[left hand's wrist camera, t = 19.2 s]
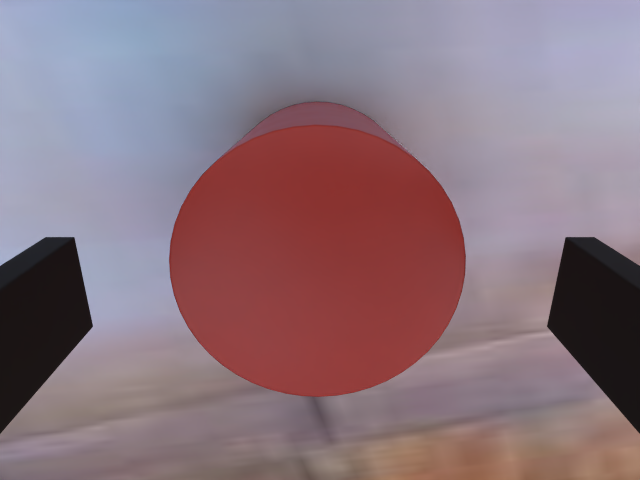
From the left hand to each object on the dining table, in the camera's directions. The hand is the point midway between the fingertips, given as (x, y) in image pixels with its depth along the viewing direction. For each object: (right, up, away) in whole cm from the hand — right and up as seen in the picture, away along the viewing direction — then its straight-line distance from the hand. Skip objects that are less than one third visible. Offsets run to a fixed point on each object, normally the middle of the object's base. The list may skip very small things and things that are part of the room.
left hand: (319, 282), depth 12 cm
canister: (0, +4, +10) cm, 11 cm away
